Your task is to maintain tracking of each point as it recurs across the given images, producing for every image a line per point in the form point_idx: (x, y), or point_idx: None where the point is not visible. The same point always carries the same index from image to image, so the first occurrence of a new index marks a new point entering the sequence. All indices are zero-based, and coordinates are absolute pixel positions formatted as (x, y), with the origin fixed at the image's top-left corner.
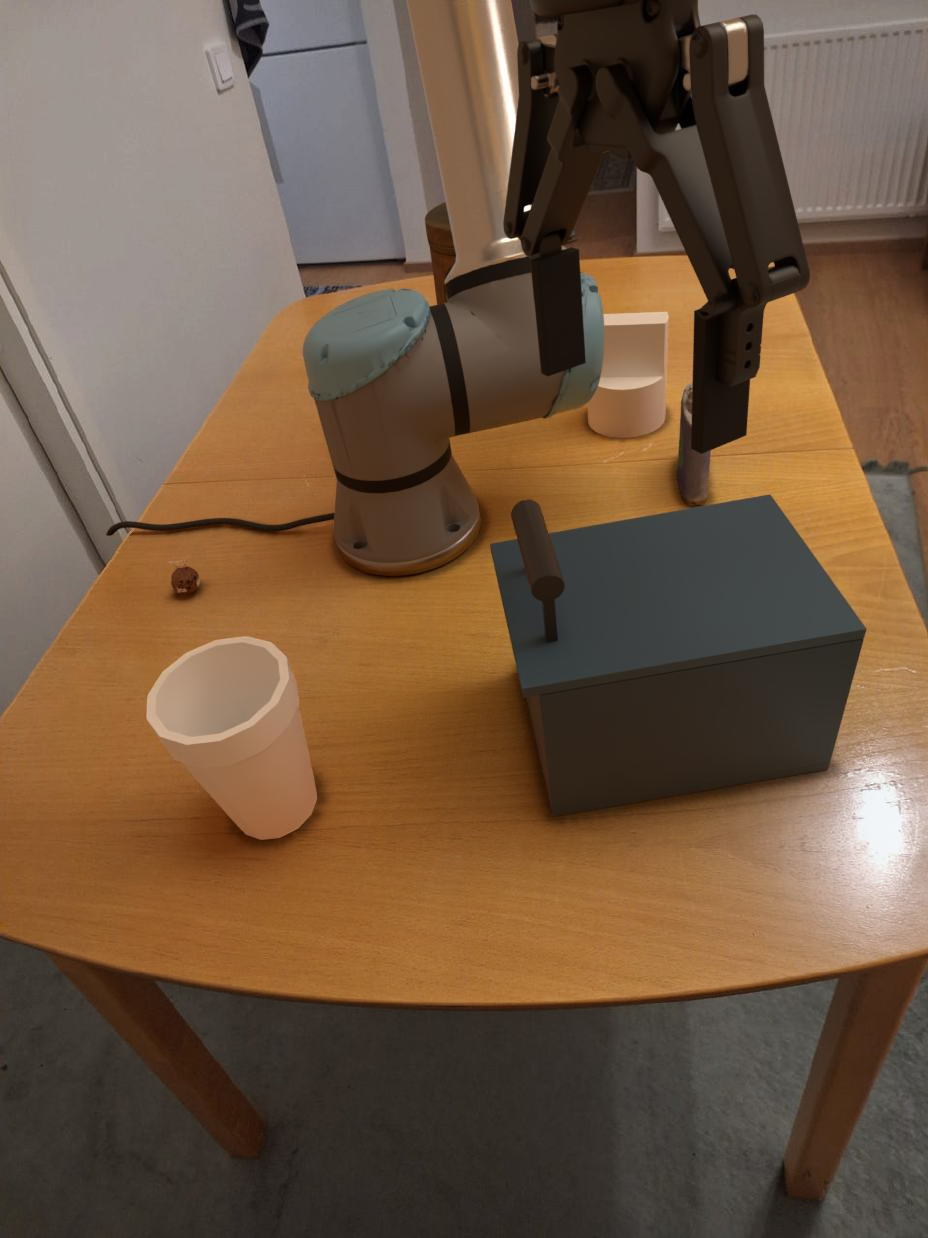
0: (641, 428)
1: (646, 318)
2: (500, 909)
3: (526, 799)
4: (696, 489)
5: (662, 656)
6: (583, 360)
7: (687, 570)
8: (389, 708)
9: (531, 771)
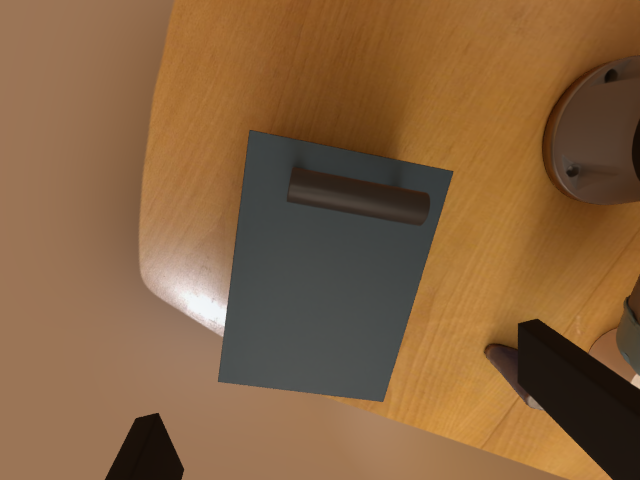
0: (594, 357)
1: None
2: (215, 85)
3: (287, 132)
4: (494, 357)
5: (242, 251)
6: (521, 383)
7: (328, 310)
8: (409, 57)
9: None
